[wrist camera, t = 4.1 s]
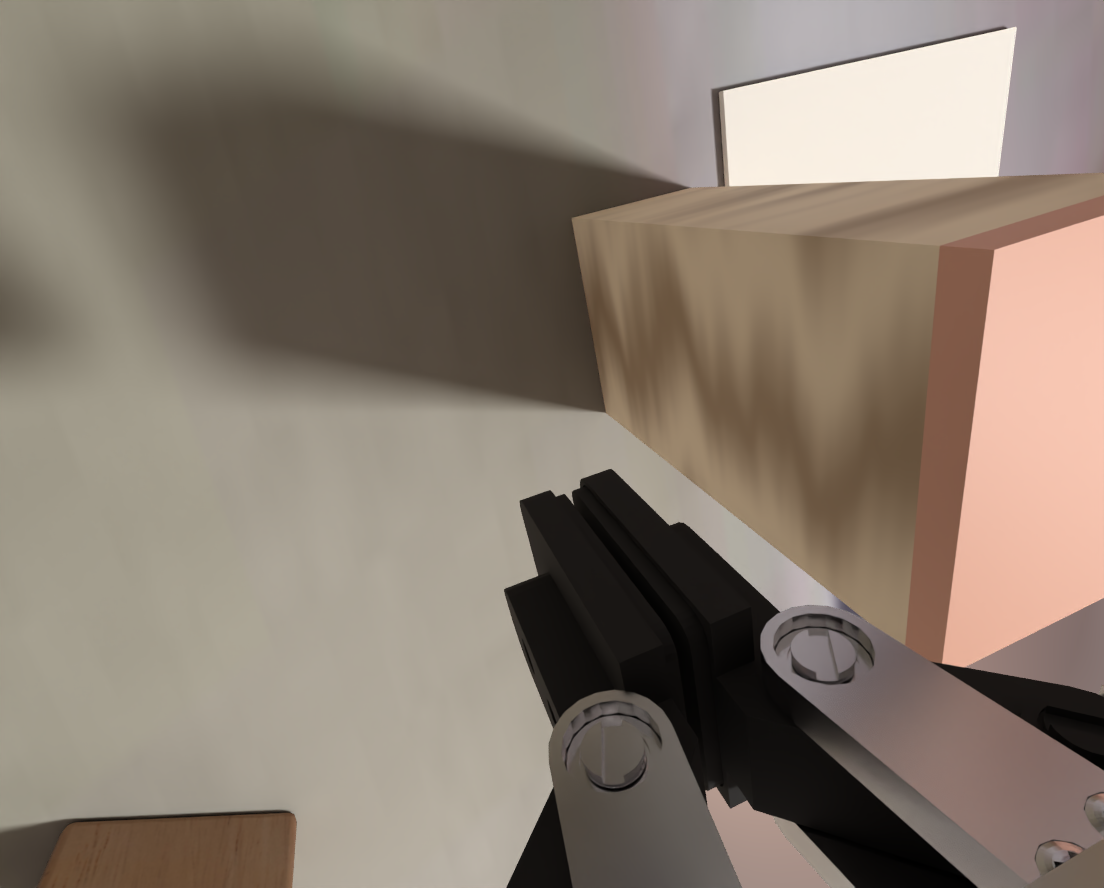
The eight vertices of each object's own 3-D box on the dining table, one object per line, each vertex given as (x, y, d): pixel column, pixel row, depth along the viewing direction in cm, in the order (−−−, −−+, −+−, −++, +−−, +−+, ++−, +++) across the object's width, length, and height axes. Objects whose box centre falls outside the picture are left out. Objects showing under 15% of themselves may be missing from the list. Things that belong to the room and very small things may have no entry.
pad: (718, 92, 22) (723, 90, 21) (1009, 28, 25) (1016, 26, 24) (740, 428, 28) (744, 430, 28) (971, 346, 31) (977, 347, 30)
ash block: (571, 217, 22) (994, 249, 8) (690, 187, 23) (1255, 167, 9) (605, 412, 25) (939, 679, 11) (707, 379, 26) (1131, 584, 12)
